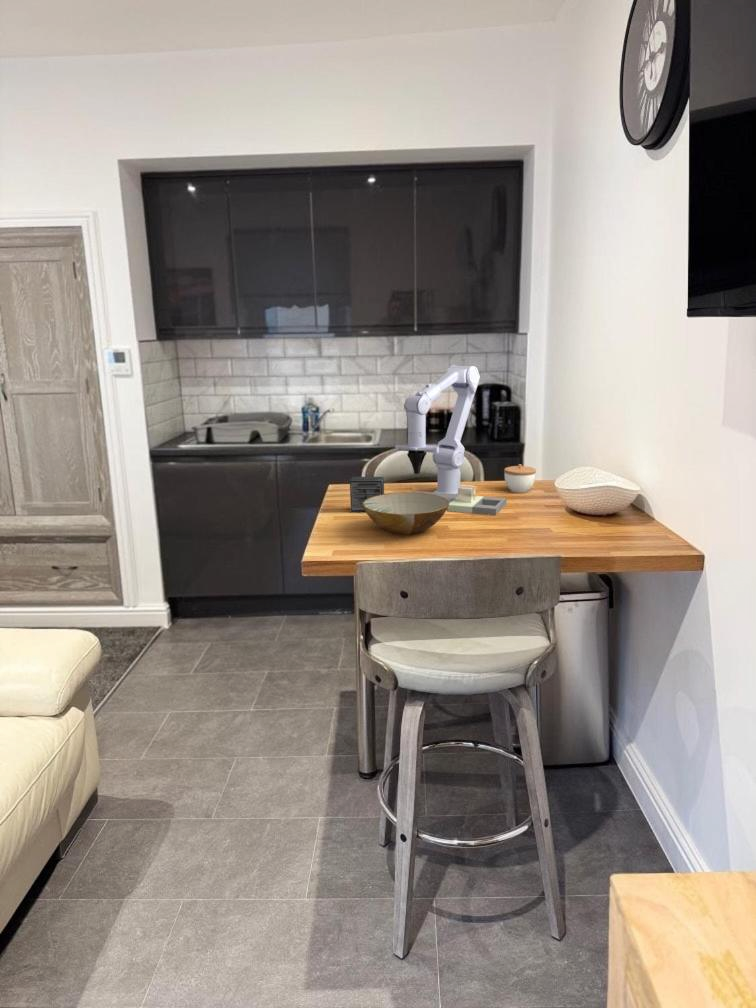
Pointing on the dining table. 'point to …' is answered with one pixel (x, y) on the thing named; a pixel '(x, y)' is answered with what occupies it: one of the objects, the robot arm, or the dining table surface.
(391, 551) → the dining table surface
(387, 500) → the bowl
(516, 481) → the lidded jar
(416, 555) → the dining table surface
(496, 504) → the plate
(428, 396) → the robot arm
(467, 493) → the block
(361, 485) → the small box
